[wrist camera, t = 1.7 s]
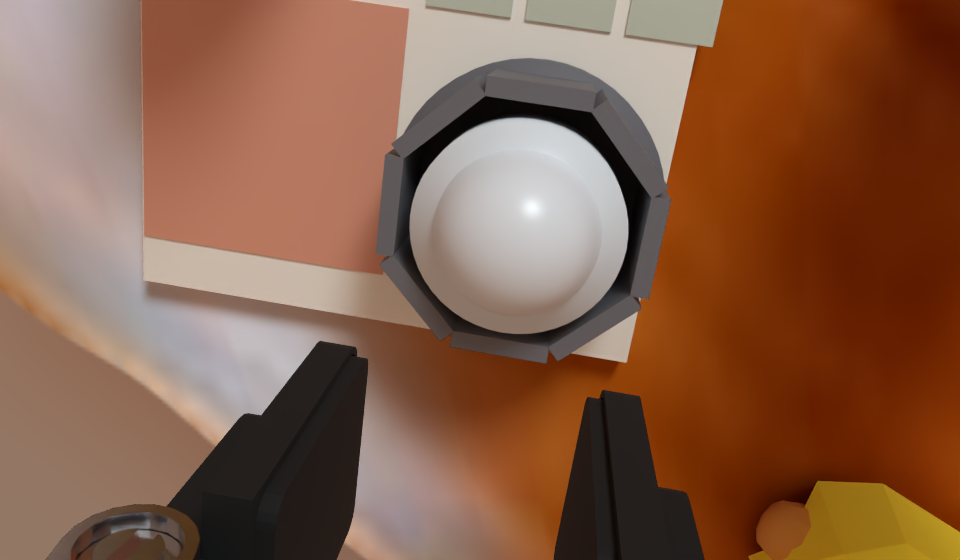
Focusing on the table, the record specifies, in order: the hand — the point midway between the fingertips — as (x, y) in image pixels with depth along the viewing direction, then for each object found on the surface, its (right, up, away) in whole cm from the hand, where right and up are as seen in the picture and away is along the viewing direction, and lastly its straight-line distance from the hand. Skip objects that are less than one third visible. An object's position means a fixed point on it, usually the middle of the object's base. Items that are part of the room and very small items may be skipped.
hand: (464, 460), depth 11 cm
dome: (+2, +5, +15) cm, 16 cm away
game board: (-3, +8, +18) cm, 20 cm away
